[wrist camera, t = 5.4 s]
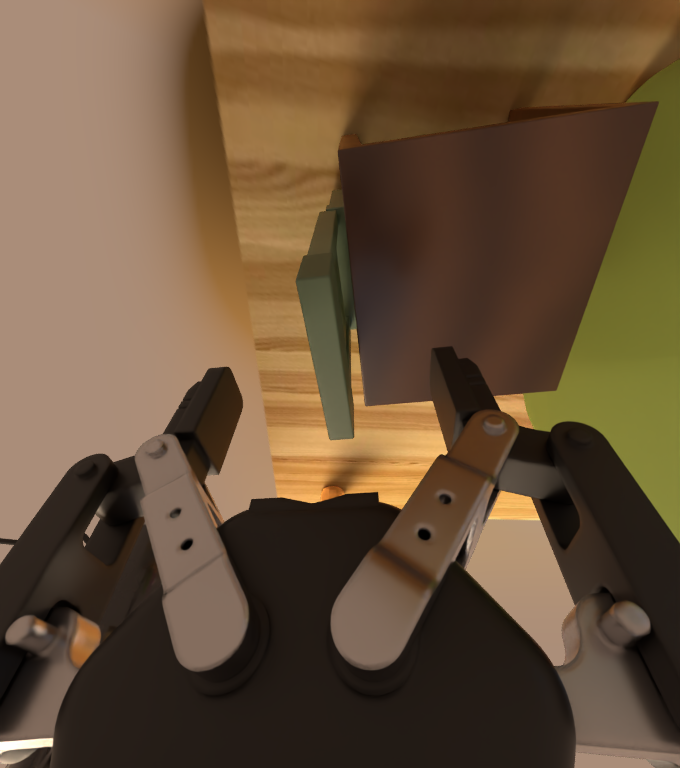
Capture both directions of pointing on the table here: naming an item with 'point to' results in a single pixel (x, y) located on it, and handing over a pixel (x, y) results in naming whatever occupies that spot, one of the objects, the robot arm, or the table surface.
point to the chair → (330, 315)
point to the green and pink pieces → (635, 321)
